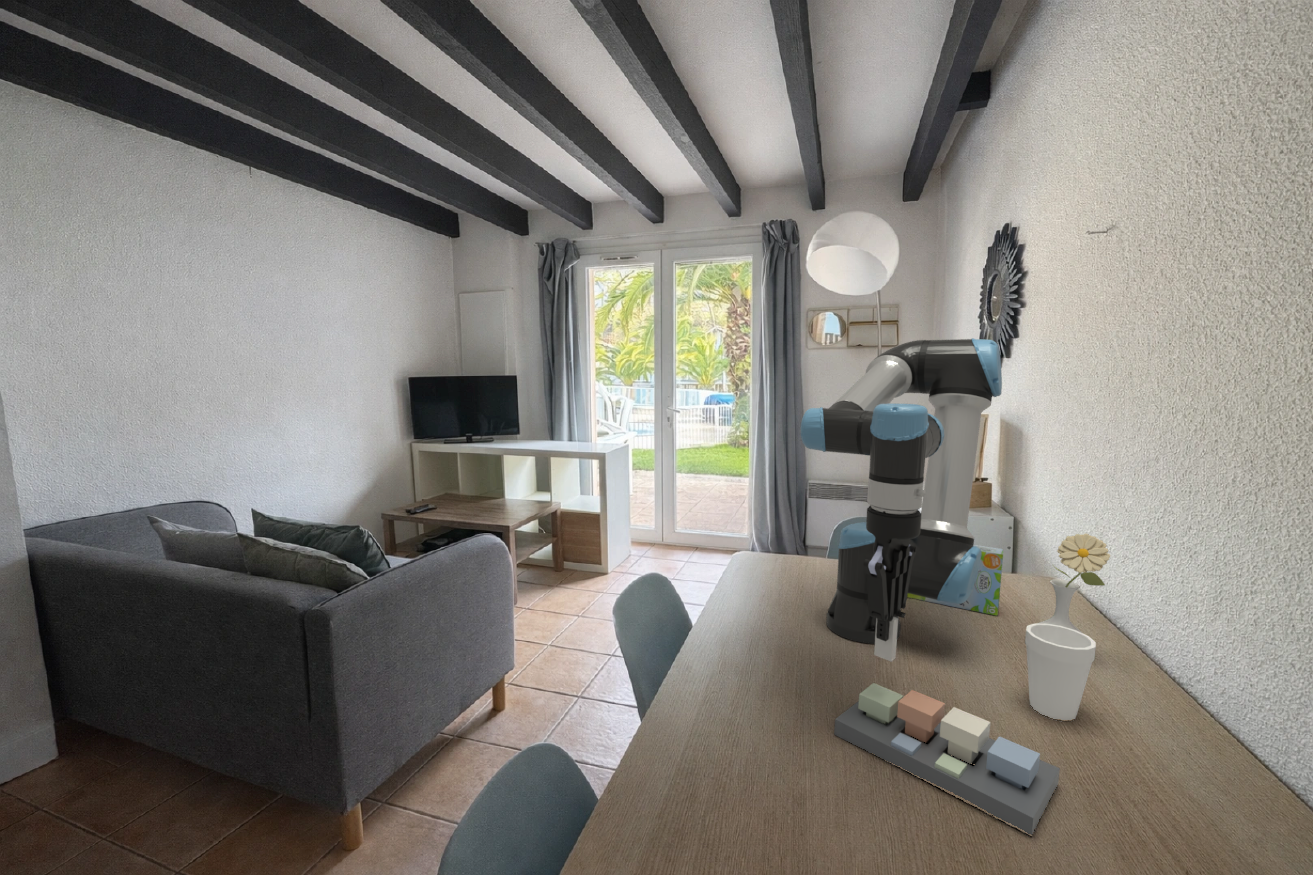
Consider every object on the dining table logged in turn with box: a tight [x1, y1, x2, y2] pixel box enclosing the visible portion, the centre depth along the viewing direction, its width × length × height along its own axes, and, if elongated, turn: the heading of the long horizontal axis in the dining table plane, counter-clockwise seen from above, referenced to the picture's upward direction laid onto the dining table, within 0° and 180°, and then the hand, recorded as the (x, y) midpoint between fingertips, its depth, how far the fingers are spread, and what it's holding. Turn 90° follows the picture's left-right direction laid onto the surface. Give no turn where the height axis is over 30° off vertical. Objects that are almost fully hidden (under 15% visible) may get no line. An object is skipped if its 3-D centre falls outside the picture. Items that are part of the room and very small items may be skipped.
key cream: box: [940, 706, 991, 765], centre depth 79 cm, size 5×5×5 cm
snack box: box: [907, 544, 1004, 617], centre depth 138 cm, size 21×6×15 cm, turn 58°
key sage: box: [858, 682, 904, 725], centre depth 88 cm, size 5×5×5 cm
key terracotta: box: [897, 689, 946, 744], centre depth 83 cm, size 5×5×5 cm
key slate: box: [986, 736, 1041, 791], centre depth 75 cm, size 5×5×5 cm
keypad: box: [833, 700, 1061, 836], centre depth 82 cm, size 26×13×3 cm, turn 43°
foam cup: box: [1024, 622, 1097, 720], centre depth 94 cm, size 10×9×13 cm
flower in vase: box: [1039, 533, 1111, 633], centre depth 114 cm, size 13×11×25 cm
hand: (884, 656), depth 87 cm, fingers closed
